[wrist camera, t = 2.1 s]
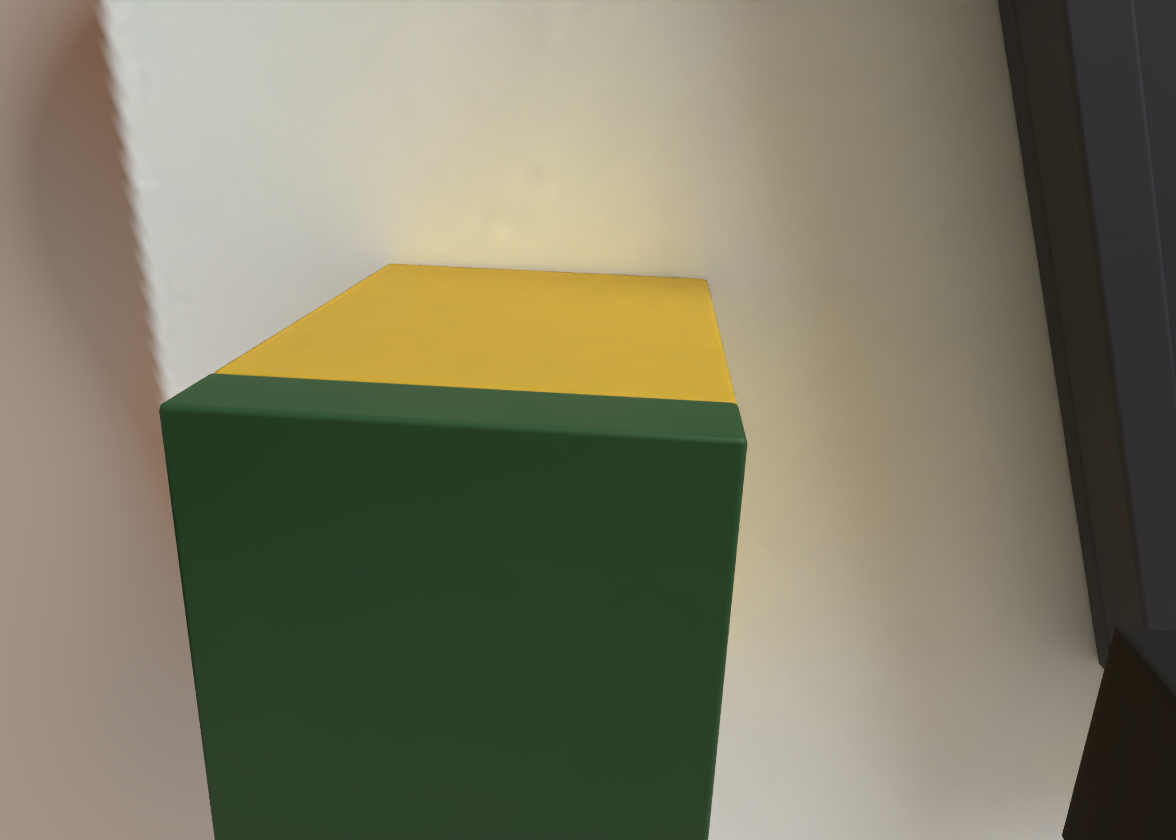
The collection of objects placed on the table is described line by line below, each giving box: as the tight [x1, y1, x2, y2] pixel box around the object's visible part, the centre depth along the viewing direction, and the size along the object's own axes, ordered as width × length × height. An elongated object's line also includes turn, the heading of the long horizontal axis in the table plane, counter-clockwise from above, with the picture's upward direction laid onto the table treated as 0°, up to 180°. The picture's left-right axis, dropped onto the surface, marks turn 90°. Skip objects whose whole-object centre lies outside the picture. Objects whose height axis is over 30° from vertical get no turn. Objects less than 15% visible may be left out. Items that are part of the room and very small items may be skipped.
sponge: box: [159, 264, 747, 840], centre depth 12 cm, size 7×5×7 cm
